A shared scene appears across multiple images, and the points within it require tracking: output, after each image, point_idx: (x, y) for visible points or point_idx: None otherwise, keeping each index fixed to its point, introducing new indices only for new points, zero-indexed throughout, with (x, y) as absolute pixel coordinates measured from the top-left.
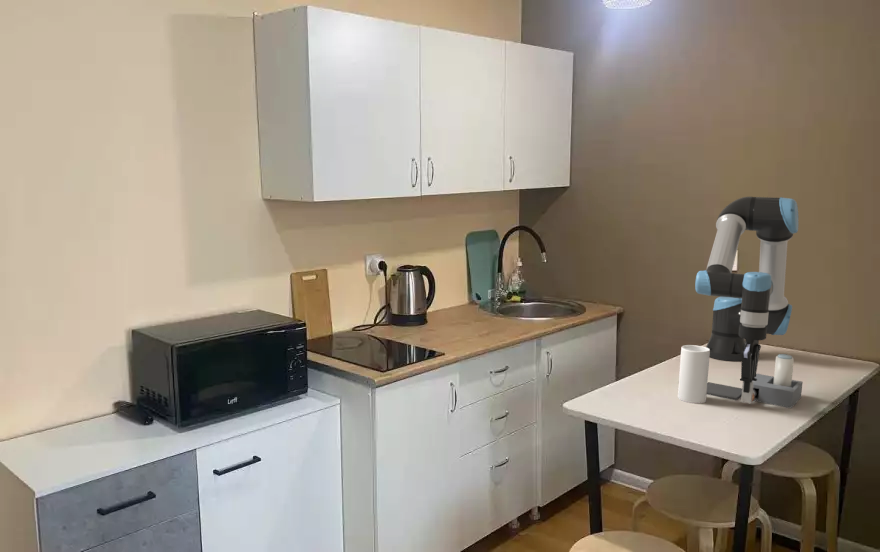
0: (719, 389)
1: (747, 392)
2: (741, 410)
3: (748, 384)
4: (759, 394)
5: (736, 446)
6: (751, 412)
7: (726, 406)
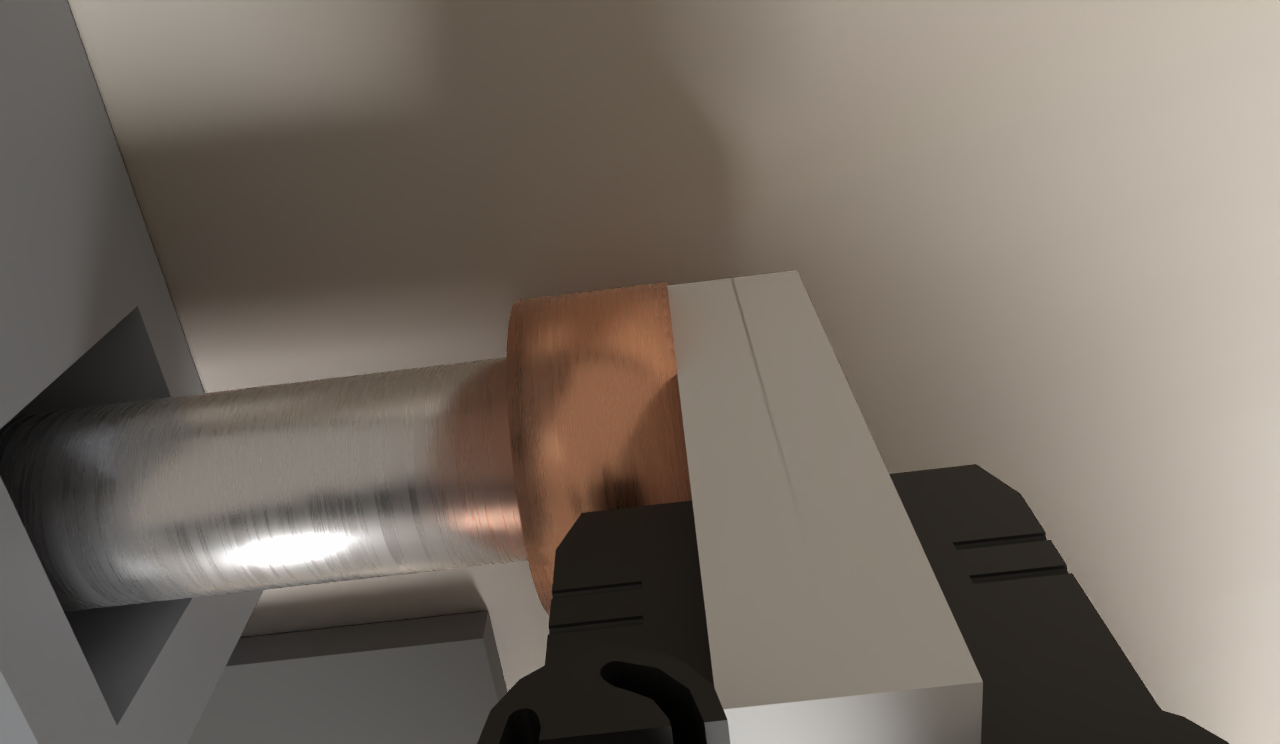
0: None
1: (988, 497)
2: (1133, 291)
3: (1133, 701)
4: (71, 340)
5: None
6: (1149, 70)
7: None
